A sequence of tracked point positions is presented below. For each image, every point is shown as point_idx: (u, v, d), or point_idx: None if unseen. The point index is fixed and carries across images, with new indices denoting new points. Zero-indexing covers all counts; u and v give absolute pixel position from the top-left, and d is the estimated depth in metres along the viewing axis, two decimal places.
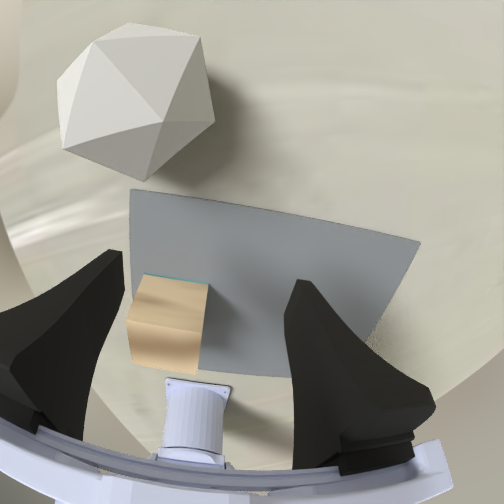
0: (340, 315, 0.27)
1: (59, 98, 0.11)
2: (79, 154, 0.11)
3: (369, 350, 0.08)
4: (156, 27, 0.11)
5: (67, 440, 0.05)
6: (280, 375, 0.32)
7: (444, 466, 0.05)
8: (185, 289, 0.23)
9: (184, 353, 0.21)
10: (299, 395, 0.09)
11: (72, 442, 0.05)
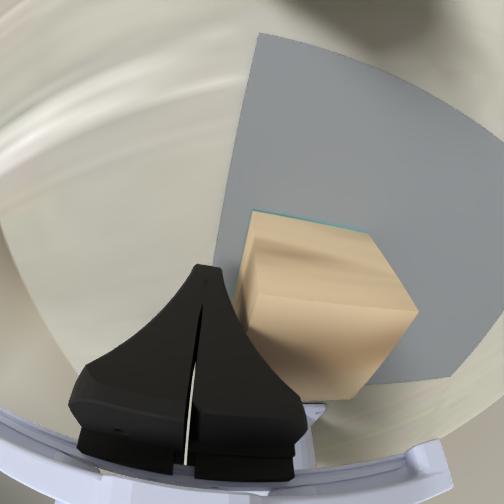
0: (490, 287, 0.16)
1: None
2: None
3: (246, 342, 0.07)
4: None
5: (67, 440, 0.05)
6: (396, 380, 0.21)
7: (444, 466, 0.05)
8: (341, 238, 0.12)
9: (357, 363, 0.10)
10: None
11: (72, 442, 0.05)
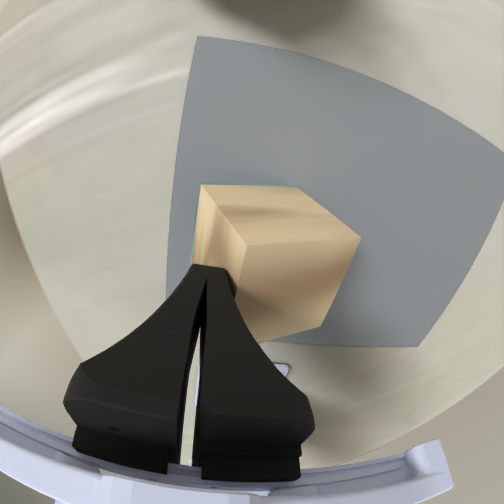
0: (443, 249, 0.19)
1: None
2: None
3: (252, 343, 0.07)
4: None
5: (67, 440, 0.05)
6: (357, 343, 0.24)
7: (444, 466, 0.05)
8: (279, 194, 0.14)
9: (321, 290, 0.13)
10: (198, 387, 0.09)
11: None
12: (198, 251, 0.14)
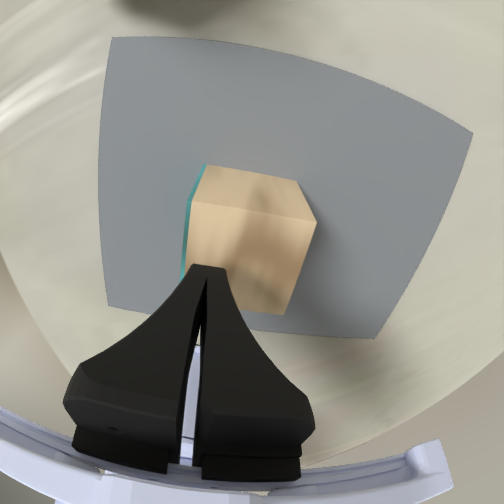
0: (385, 229, 0.19)
1: None
2: None
3: (252, 343, 0.07)
4: None
5: (67, 440, 0.05)
6: (300, 331, 0.24)
7: (444, 466, 0.05)
8: (222, 176, 0.15)
9: None
10: None
11: None
12: None
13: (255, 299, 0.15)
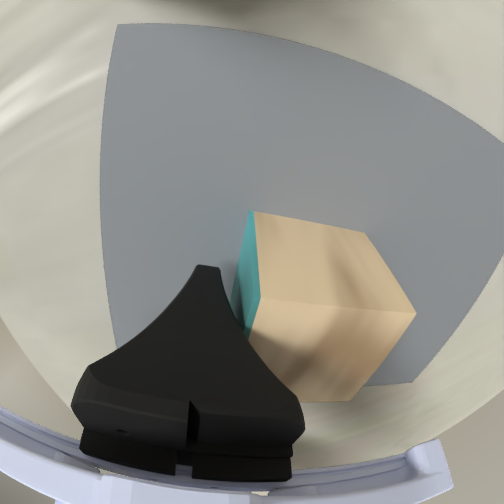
0: (446, 281, 0.15)
1: None
2: None
3: (244, 342, 0.07)
4: None
5: (67, 440, 0.05)
6: None
7: (444, 466, 0.05)
8: (282, 235, 0.11)
9: None
10: None
11: (72, 442, 0.05)
12: None
13: (322, 392, 0.11)
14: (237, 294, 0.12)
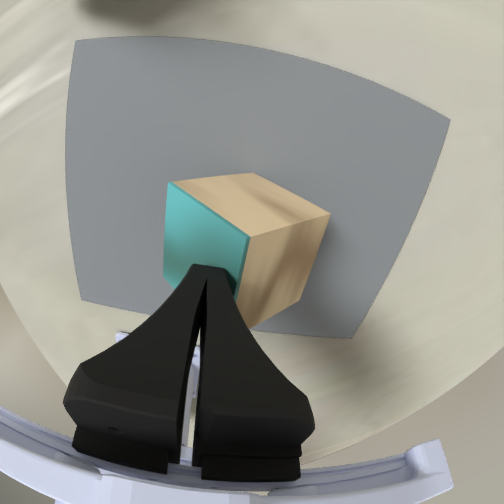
0: (353, 223, 0.18)
1: None
2: None
3: (252, 343, 0.07)
4: None
5: (67, 440, 0.05)
6: (270, 329, 0.24)
7: (444, 466, 0.05)
8: (211, 192, 0.13)
9: None
10: (198, 387, 0.09)
11: None
12: (251, 297, 0.12)
13: (283, 300, 0.15)
14: (189, 255, 0.13)
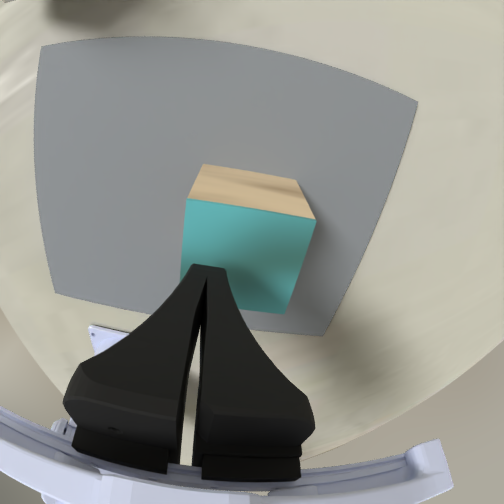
0: (313, 213, 0.18)
1: None
2: None
3: (252, 343, 0.07)
4: None
5: (67, 440, 0.05)
6: None
7: (444, 466, 0.05)
8: (230, 195, 0.13)
9: None
10: None
11: None
12: None
13: None
14: (232, 261, 0.13)
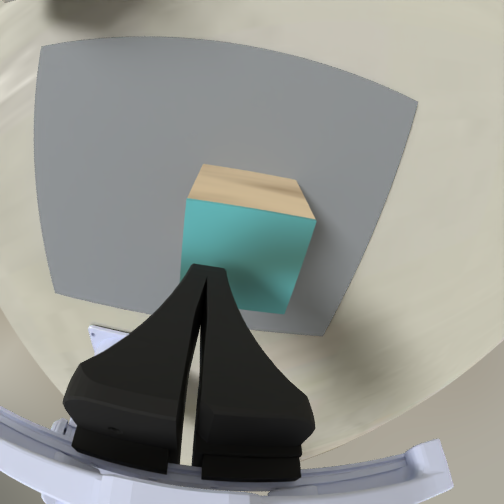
0: (313, 213, 0.18)
1: None
2: None
3: (252, 343, 0.07)
4: None
5: (67, 440, 0.05)
6: None
7: (444, 466, 0.05)
8: (230, 195, 0.13)
9: None
10: None
11: None
12: None
13: None
14: (232, 261, 0.13)
